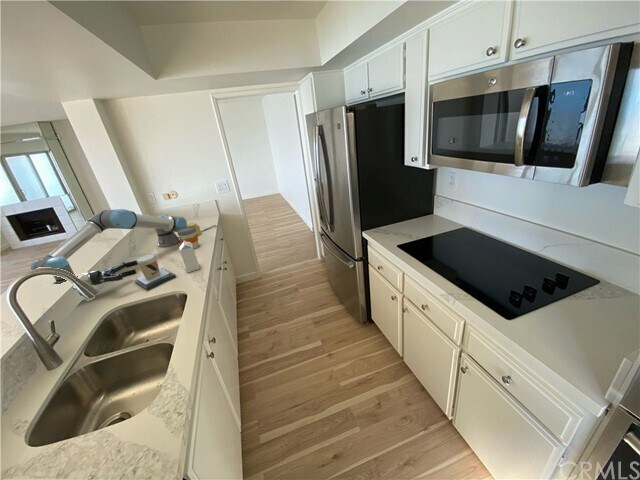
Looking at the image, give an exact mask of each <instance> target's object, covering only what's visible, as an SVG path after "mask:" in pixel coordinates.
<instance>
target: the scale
mask: <svg viewBox="0 0 640 480" xmlns="http://www.w3.org/2000/svg"><path fill="white" fill-rule="evenodd" d="M159 270H160V275H159V276H157V277H155V278H152V279H146V278H145V276H144V274H143V275H141V276H138V277H136V278H135V279H134V283H135V284H136V285H138V286H139V287H141V288H142V289H144V290H146V291H147V292H149V291H151V290H152V289H155V288H157V287H159V286H161V285H163V284H165V283H167V282H169V281H171V280H173V279H175V278H177V276H176V274H175V273H173V272H171V271H169V270H167V269H165V268H163V267H159Z"/></svg>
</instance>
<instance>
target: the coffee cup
mask: <svg viewBox="0 0 640 480" xmlns="http://www.w3.org/2000/svg"><path fill="white" fill-rule="evenodd" d="M136 260H137V263H138V265H137V266H139V268H140V270H141V272H142V274H143V275H144V276H145V278H146V279H152V278H155V277H157V276H159V275H160V270H159V268H160V266H159V265H158V261H157V258H156V255H155V254H154V253H153V254H152V253H151V254H145V255H142V256H140V257H138V258H137V259H136Z"/></svg>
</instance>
